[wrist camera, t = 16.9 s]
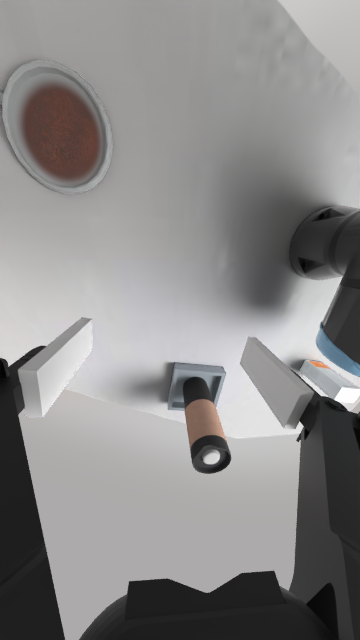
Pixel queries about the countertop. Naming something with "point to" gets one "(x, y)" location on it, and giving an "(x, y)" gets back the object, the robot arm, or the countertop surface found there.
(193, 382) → the travel mug
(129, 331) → the countertop surface
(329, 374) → the skincare box
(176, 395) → the tray
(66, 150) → the frying pan
